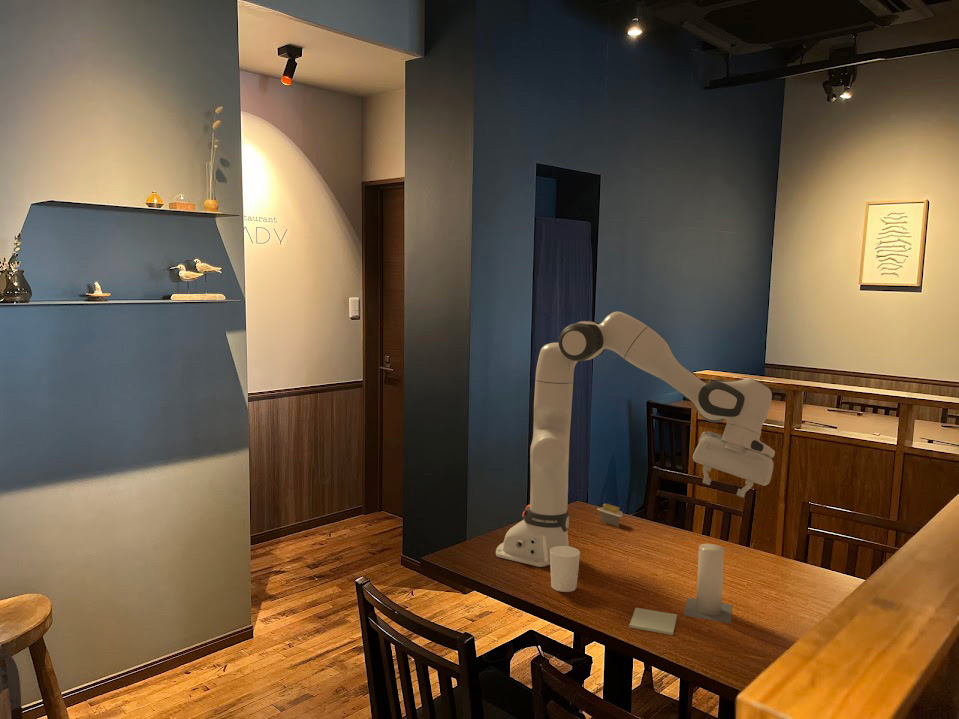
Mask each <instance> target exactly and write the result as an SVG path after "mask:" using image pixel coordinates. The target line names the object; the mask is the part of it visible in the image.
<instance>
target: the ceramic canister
mask: <svg viewBox="0 0 959 719" xmlns="http://www.w3.org/2000/svg"><path fill="white" fill-rule="evenodd" d="M724 558H725V548H724V547H723V546H720V545H718V544H712V543H703V544H699V545H698V558H697V559H698V560H697V582H696V596H695V597H696V598H695V599H696V610H697V611H698V612H700V613H702V614H705V615H719V614H720V613H721V604H722V603H723V602H722V601H723V600H722V599H723V580H724V560H725V559H724Z"/></svg>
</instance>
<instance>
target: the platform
mask: <svg viewBox="0 0 959 719" xmlns="http://www.w3.org/2000/svg"><path fill="white" fill-rule="evenodd" d="M597 510H598V511H600V522H601V521H602V522H601V523H604V522H605V524H607V523H608V525H610V524H611V525H610V526H613V527H616V526H617V527H616V528H620V518H621V517H623V511H621V510H620V507H618V506H615V505H611V504H609V503H603V504H602V506H600V507H597Z"/></svg>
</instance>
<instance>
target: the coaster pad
mask: <svg viewBox="0 0 959 719" xmlns="http://www.w3.org/2000/svg"><path fill="white" fill-rule="evenodd" d="M677 618H678V614H677V613H671V612H665V611H658V610H652V609H648V608H642V607H641V608H639V607H635V608H634V611H633V613H632V617H631V619H630V621H629V622H630V623H629V625H628V627H629V628H631V629H636V630H643V631H645V632H646V631H648V632H652V633H653V632H654V633H659V634H664V635H671V636H673V635H674V631H675V626H676V623H677Z"/></svg>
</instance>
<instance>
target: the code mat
mask: <svg viewBox="0 0 959 719" xmlns="http://www.w3.org/2000/svg"><path fill="white" fill-rule="evenodd" d="M732 612H733V604H728V603H723V602H722V604H721V613H720V614H719V615H705V614H702V613H700V612H698V611H697V610H696V598H693V597H692V598H691V597H687V598H686V603H685V609H684V612H683V616H684V617H689V618H690V617H691V618H696V619H701V620H708V621H715V622H719V623H726V624H732V615H733V613H732Z"/></svg>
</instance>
